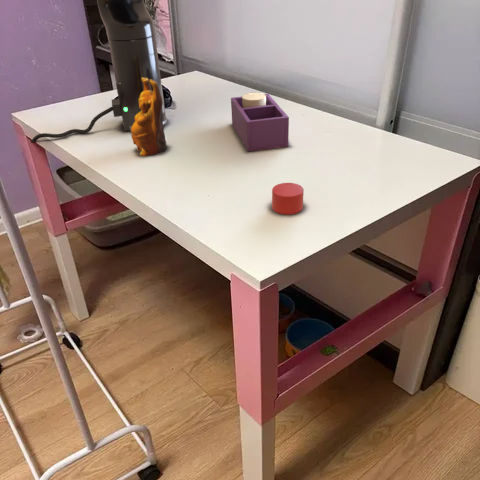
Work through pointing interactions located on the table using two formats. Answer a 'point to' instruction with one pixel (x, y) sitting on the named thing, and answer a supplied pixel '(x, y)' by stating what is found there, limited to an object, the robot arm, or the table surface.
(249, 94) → the cream token high
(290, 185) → the cylinder
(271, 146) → the purple divided box
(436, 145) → the table surface
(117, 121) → the table surface
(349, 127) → the table surface
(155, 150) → the figurine
